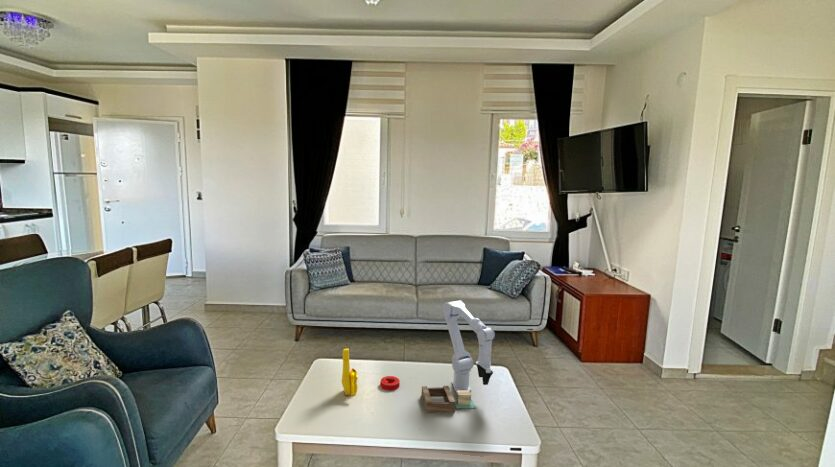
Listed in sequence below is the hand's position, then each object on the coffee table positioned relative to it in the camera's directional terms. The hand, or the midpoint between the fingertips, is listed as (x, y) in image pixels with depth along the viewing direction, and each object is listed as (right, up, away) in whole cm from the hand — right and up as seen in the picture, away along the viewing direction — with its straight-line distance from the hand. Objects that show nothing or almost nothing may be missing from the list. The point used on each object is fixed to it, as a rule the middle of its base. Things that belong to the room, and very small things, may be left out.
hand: (483, 380), depth 199 cm
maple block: (-10, -10, -2) cm, 14 cm away
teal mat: (-9, -10, -1) cm, 14 cm away
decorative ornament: (-45, -7, +13) cm, 47 cm away
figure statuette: (-64, -7, +4) cm, 65 cm away
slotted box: (-22, -10, -3) cm, 24 cm away
